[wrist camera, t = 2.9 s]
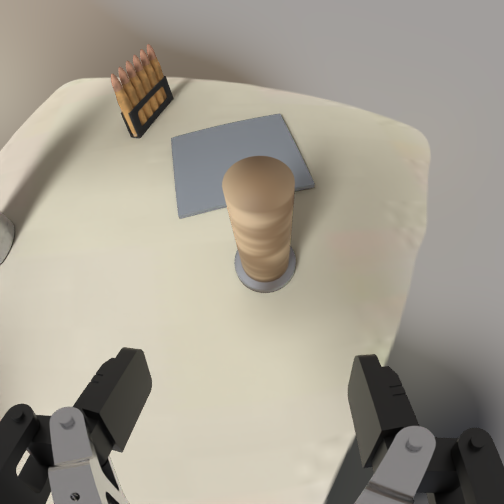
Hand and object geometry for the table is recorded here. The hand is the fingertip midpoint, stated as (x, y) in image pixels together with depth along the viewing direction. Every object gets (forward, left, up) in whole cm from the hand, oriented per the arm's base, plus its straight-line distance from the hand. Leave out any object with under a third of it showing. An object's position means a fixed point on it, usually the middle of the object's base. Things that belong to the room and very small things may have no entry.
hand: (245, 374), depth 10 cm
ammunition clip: (-8, +41, -17) cm, 45 cm away
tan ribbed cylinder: (+3, +11, -16) cm, 20 cm away
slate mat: (+3, +26, -16) cm, 31 cm away
